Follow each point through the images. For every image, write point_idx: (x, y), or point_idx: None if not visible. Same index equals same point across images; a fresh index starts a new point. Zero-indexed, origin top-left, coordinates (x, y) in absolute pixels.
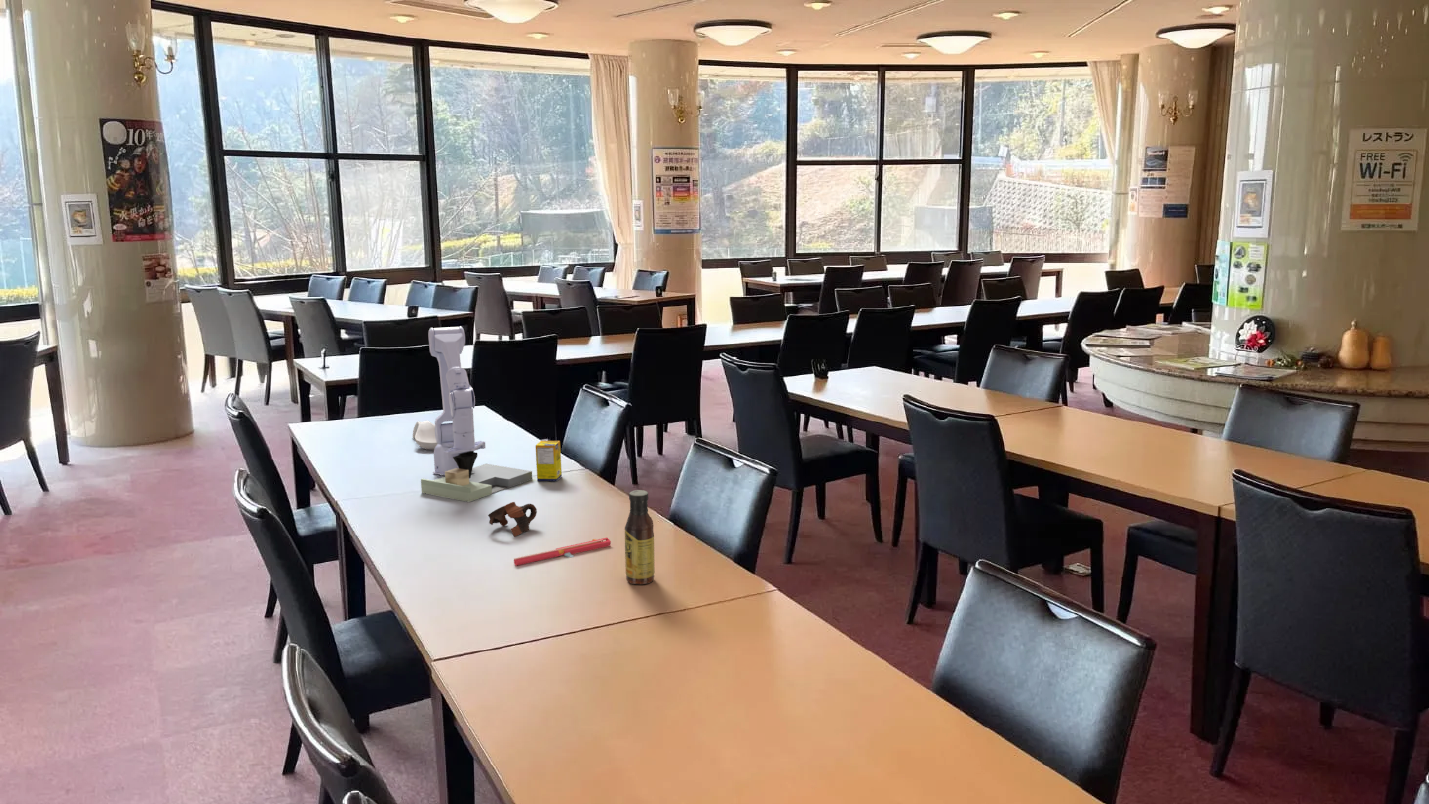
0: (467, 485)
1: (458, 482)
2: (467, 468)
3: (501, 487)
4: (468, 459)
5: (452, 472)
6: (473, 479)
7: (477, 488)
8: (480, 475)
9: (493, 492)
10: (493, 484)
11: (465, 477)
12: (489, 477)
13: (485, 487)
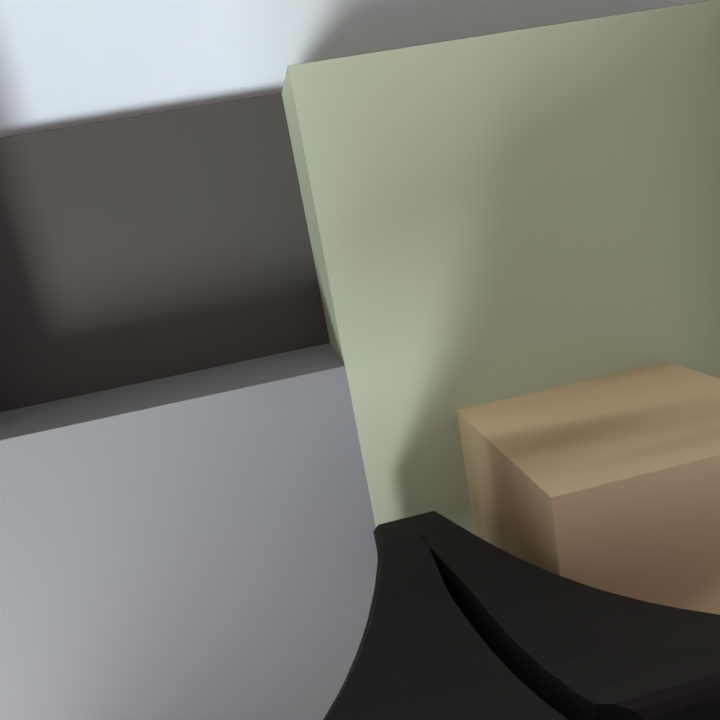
0: (528, 350)
1: (694, 383)
2: (528, 570)
3: (16, 223)
4: (682, 646)
5: None
6: (282, 555)
7: (544, 94)
8: (79, 669)
9: (249, 102)
10: (34, 406)
11: (571, 432)
12: (41, 481)
13: (428, 44)
